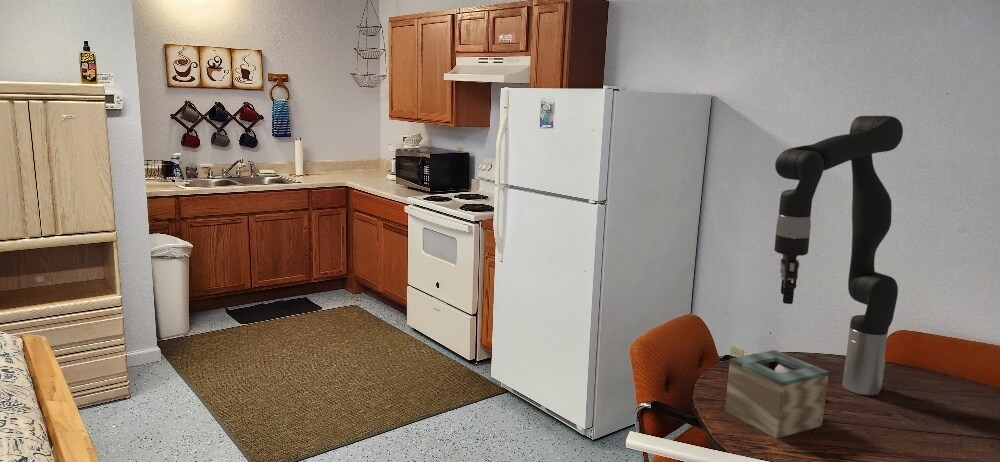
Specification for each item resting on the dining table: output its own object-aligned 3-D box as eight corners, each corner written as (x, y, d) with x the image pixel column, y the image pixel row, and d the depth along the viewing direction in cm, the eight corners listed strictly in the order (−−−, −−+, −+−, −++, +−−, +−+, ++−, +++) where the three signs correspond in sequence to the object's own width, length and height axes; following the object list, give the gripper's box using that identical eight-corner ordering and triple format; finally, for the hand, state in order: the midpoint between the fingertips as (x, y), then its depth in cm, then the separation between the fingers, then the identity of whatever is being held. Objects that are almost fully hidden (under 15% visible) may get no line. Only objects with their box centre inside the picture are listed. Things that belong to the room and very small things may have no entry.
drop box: (769, 400, 181) (775, 349, 179) (822, 425, 167) (828, 371, 165) (724, 410, 174) (730, 358, 172) (775, 438, 160) (782, 382, 158)
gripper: (774, 227, 172) (768, 289, 175) (777, 237, 159) (771, 305, 162) (807, 229, 170) (800, 292, 173) (812, 240, 157) (805, 308, 160)
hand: (786, 298), depth 168 cm, fingers open, 8 cm apart
